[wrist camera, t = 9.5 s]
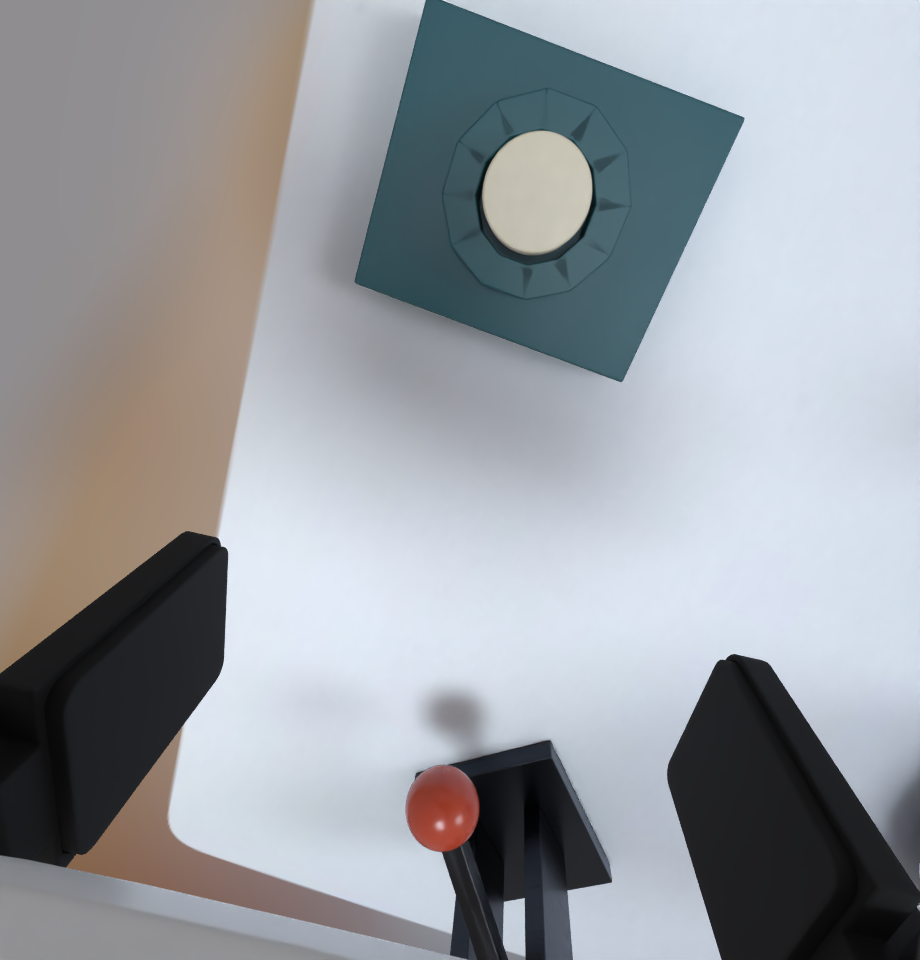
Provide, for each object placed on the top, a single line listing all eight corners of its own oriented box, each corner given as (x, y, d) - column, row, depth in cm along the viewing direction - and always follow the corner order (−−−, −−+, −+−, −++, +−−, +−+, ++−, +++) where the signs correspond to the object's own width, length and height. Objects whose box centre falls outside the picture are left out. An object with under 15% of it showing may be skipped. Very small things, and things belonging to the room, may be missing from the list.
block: (364, 282, 24) (339, 282, 20) (434, 16, 20) (417, -36, 17) (615, 376, 24) (630, 391, 21) (728, 130, 20) (768, 101, 17)
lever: (410, 760, 28) (384, 798, 25) (472, 744, 27) (454, 781, 24) (494, 1018, 27) (479, 1097, 23) (562, 1010, 26) (556, 1090, 23)
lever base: (415, 773, 34) (365, 1011, 23) (550, 740, 32) (567, 983, 21) (482, 887, 37) (468, 1145, 26) (609, 863, 35) (652, 1133, 24)
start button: (471, 235, 20) (467, 231, 18) (506, 127, 18) (505, 112, 17) (562, 269, 20) (566, 268, 18) (603, 164, 18) (611, 153, 17)
